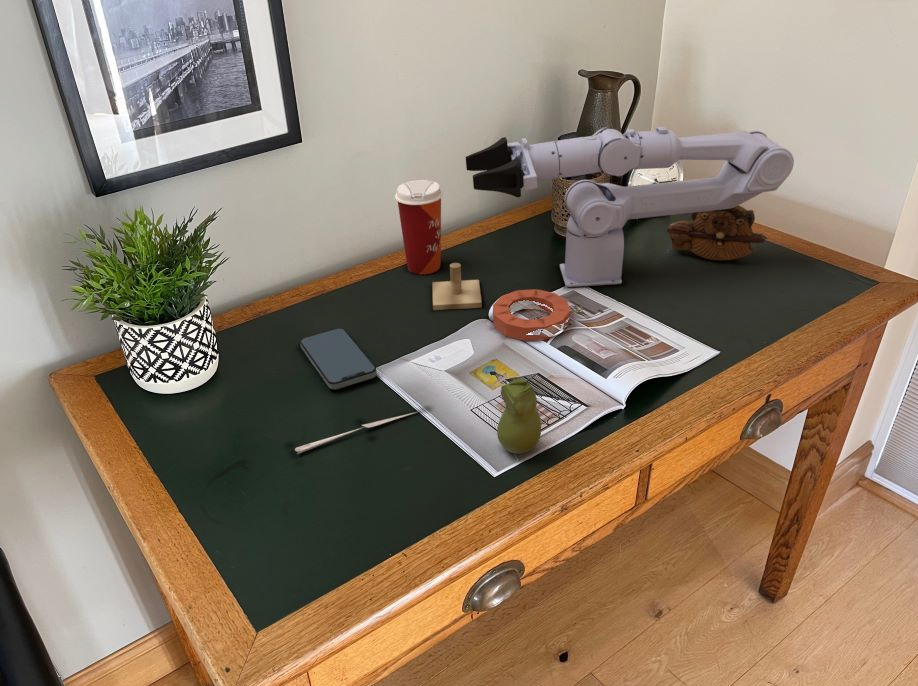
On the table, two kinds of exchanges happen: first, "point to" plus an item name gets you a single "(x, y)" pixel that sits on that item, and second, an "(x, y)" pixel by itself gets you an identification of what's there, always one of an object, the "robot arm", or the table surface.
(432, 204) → the coffee cup
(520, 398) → the pear
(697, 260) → the table surface
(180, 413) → the table surface
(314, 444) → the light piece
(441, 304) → the post
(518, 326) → the ring
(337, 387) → the smartphone
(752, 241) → the wooden carving
